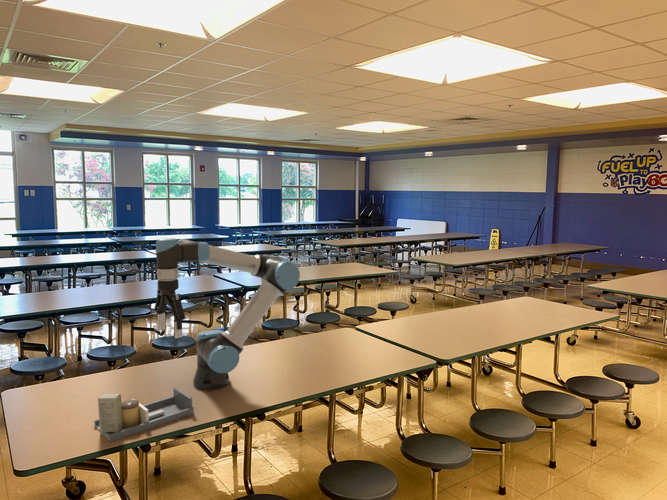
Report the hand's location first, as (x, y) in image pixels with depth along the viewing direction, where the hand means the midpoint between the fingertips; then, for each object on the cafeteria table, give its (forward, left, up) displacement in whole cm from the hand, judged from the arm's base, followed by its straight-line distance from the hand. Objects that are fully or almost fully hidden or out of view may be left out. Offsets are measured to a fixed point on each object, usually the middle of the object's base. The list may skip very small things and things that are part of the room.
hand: (170, 333), depth 181 cm
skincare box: (+6, -25, -28) cm, 38 cm away
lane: (+6, -13, -28) cm, 32 cm away
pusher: (+6, -11, -28) cm, 30 cm away
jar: (+6, -18, -28) cm, 34 cm away
